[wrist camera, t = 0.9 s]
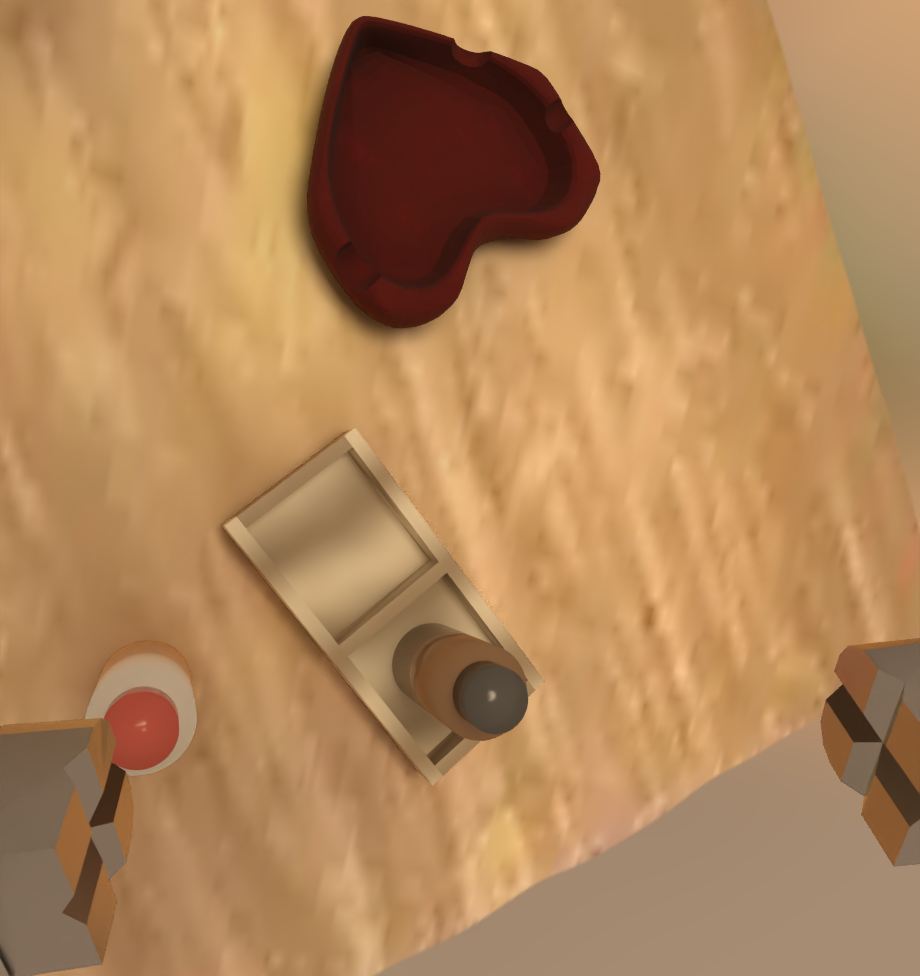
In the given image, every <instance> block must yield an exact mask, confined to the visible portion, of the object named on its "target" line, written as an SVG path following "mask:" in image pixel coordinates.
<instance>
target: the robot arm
mask: <svg viewBox="0 0 920 976" xmlns="http://www.w3.org/2000/svg"><path fill="white" fill-rule="evenodd" d="M834 672H835V673H836V675H837V676H838V678H839V679H840V681H841V682H842V685H841V686H840V687H839V688H838V689H837V690H836V691H835V692H834V693H833V694H832V695H830V696H829V697H828V698H827V699H826V701H825V705H824V709H823V713H822V717H821V730H822V738H823V746H824V748H825V751H826V754H827V756H828V759H829V762H830V764H831V766H832V767H833V769H834V771H835V772H836V774H837V776H838V777H839V779H840V780H841V782H843V783H844V784H846V785H847V786H849V787H850V788H852V789H854V790H855V791H857V792H858V793H860V794H861V795H863V796H864V800H863V806H862V813H861V815H862V816H863V818H864V820H865V821H866V823H867V825H868V826H869V828H870V829H871V831H872V833H873V834H874V836H875V837H876V839H877V840H878V842H879V844H880V845H881V847H882V848H883V850H884V852H885V853H886V855H887V856H888V858H889V860H890V861H891V863H892V864H893V866H905V865H916V864H920V638H916V639H906V640H897V641H887V642H878V643H869V644H859V645H850V646H847V648H846V649H845V650H844V651H843V652H842V653H841V654H840V655H839V658H838V661H837V664H836V668H835V671H834ZM116 743H117V742H116V739H115V736H114V734H113V731H112V728H111V725H110V723H109V720H106V719H102V718H94V719H80V720H66V721H52V722H38V723H24V724H10V725H3V726H0V976H29V975H36V974H42V973H49V972H56V971H62V970H69V969H75V968H82V967H89V966H95V965H102V963H103V959H104V955H105V951H106V946H107V942H108V938H109V934H110V929H111V925H112V921H113V917H114V913H115V908H116V904H117V899H116V897H115V894H114V891H113V888H112V885H111V882H110V878H111V877H112V876H113V875H114V874H115V873H116V872H117V871H118V870H119V869H120V868H121V867H122V866H123V865H124V864H125V863H126V861H127V856H128V851H129V847H130V842H131V837H132V821H133V802H132V794H131V787H130V784H129V780H128V777H127V773H126V771H125V770H123V769H122V768H120V767H119V766H117V765H116V764H114V763H113V762H112V758H113V754H114V751H115V747H116Z"/></svg>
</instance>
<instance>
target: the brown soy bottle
mask: <svg viewBox="0 0 920 976" xmlns="http://www.w3.org/2000/svg"><path fill="white" fill-rule="evenodd" d="M392 671H393V676H394V679H395V682H396V684H397V686H398V687H399V689H400V690H401V691H402V692H403V693H404V694H405V695H406V696H407V697H409V698H410V699H411V700H413V701H414V702H415V703H417V704H418V705H419V706H420V707H422V708H423V709H424V710H426V711H427V712H428V713H430V714H431V715H432V716H434V717H435V718H436V719H438V720H439V721H440V722H441V723H443V724H444V725H445V726H447V727H448V728H449V729H451V730H452V731H453V732H455V733H456V734H458V735H459V736H461V737H463V738H466V739H469V740H475V741H484V740H490V739H493V738H496V737H498V736H500V735H502V734H503V733H505V732H508V731H510V730H511V729H513V728H514V727H515V726H517V724H518V723H519V722H520V721H521V720H522V718H523V716H524V714H525V712H526V709H527V705H528V692H527V683H526V678H525V674H524V671H523V669H522V667H521V665H520V664H519V662H518V661H517V659H516V658H515V657H514V656H513V655H512V654H511V653H509V652H508V651H506V650H505V649H503V648H500V647H498V646H496V645H493V644H491V643H488V642H486V641H483V640H481V639H478V638H476V637H473V636H471V635H468V634H466V633H463V632H461V631H458V630H456V629H453V628H451V627H448V626H446V625H443V624H439V623H426V624H422V625H419V626H416V627H415V628H413V629H411V630H410V631H408V632H407V633H406V634H405V635H404V636H403V637H402V639H401V640H400V641H399V643H398V644H397V647H396V649H395V651H394V655H393V660H392Z"/></svg>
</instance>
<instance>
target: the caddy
mask: <svg viewBox="0 0 920 976" xmlns="http://www.w3.org/2000/svg"><path fill="white" fill-rule="evenodd" d="M221 526H222V527H223V528H224V529H225V531H226V532H227V533H228V534H229V536H230V537H231V538H232V539H233V541H234V542H235V543H236V544H237V546H238V547H239V548H240V549H241V551H242V552H243V553H244V554H245V556H246V557H247V558H248V559H249V561H250V562H251V563H252V564H253V566H254V567H255V568H256V569H257V571H258V572H259V573H260V574H261V576H262V577H263V578H264V579H265V581H266V582H267V583H268V584H269V586H270V587H271V588H272V589H273V591H274V592H275V593H276V594H277V596H278V597H279V598H280V599H281V601H282V602H283V603H284V604H285V606H286V607H287V608H288V609H289V611H290V612H291V613H292V614H293V616H294V617H295V618H296V619H297V621H298V622H299V623H300V624H301V626H302V627H303V628H304V629H305V631H306V632H307V633H308V634H309V636H310V637H311V638H312V639H313V641H314V642H315V643H316V644H317V646H318V647H319V648H320V649H321V651H322V652H323V653H324V654H325V656H326V657H327V658H328V659H329V661H330V662H331V663H332V664H333V665H334V667H335V668H336V669H337V670H338V672H339V673H340V674H341V675H342V677H343V678H344V679H345V680H346V682H347V683H348V684H349V685H350V687H351V688H352V689H353V690H354V692H355V693H356V694H357V695H358V697H359V698H360V699H361V700H362V702H363V703H364V704H365V705H366V707H367V708H368V709H369V710H370V712H371V713H372V714H373V715H374V717H375V718H376V719H377V720H378V722H379V723H380V724H381V725H382V727H383V728H384V729H385V730H386V732H387V733H388V734H389V735H390V737H391V738H392V739H393V740H394V742H395V743H396V744H397V745H398V747H399V748H400V749H401V750H402V752H403V753H404V754H405V755H406V757H407V758H408V759H409V760H410V762H411V763H412V764H413V765H414V767H415V768H416V769H417V770H418V772H419V773H420V774H421V775H422V776H423V777H424V778H425V779H426V780H427V781H428V782H429V783H430V784H431V785H432V786H433V785H434V784H435V783H436V782H437V781H438V780H439V779H440V778H441V777H442V776H443V775H445V774H446V773H447V772H448V771H449V770H450V769H451V768H452V767H453V766H454V765H455V764H456V763H457V762H459V761H460V760H461V759H462V758H463V757H464V756H465V755H466V754H467V753H468V752H469V751H470V750H471V749H473V748H474V747H475V746H476V745H477V744H478V743H479V742H480V741H475V740H469V739H466V738H463V737H461V736H459V735H458V734H456V733H455V732H453V731H452V730H451V729H449V728H448V727H447V726H445V725H444V724H443V723H441V722H440V721H439V720H438V719H436V718H435V717H434V716H432V715H431V714H430V713H428V712H427V711H426V710H424V709H423V708H422V707H420V706H419V705H418V704H417V703H415V702H414V701H413V700H411V699H410V698H409V697H407V696H406V695H405V694H404V693H403V692H402V691H401V690H400V689H399V687H398V686H397V684H396V682H395V679H394V676H393V671H392V660H393V655H394V651H395V649H396V647H397V644H398V643H399V641H400V640H401V639H402V637H403V636H404V635H405V634H406V633H407V632H408V631H410V630H411V629H413V628H415V627H416V626H419V625H422V624H426V623H439V624H443V625H446V626H448V627H451V628H453V629H456V630H458V631H461V632H463V633H466V634H468V635H471V636H473V637H476V638H478V639H481V640H483V641H486V642H488V643H491V644H493V645H496V646H498V647H500V648H503V649H505V650H506V651H508V652H509V653H511V654H512V655H513V656H514V657H515V658H516V659H517V661H518V662H519V664H520V665H521V667H522V669H523V671H524V674H525V678H526V683H527V692H528V697H529V696H530V695H531V694H532V693H533V692H534V691H535V690H536V689H537V688H538V687H539V686H540V685H541V684H543V683H544V682H545V681H544V679H543V678H542V677H541V675H540V674H539V673H538V671H537V670H536V669H535V667H534V666H533V665H532V663H531V662H530V661H529V659H528V658H527V657H526V655H525V654H524V653H523V651H522V650H521V649H520V647H519V646H518V645H517V643H516V642H515V641H514V639H513V638H512V636H511V635H510V634H509V632H508V631H507V630H506V628H505V627H504V626H503V624H502V623H501V622H500V620H499V619H498V618H497V616H496V615H495V614H494V612H493V611H492V610H491V608H490V607H489V606H488V604H487V603H486V602H485V600H484V599H483V598H482V596H481V595H480V594H479V592H478V591H477V590H476V588H475V587H474V586H473V584H472V583H471V582H470V580H469V579H468V578H467V576H466V575H465V574H464V572H463V571H462V570H461V568H460V567H459V566H458V564H457V563H456V562H455V560H454V559H453V558H452V556H451V555H450V553H449V552H448V551H447V549H446V548H445V547H444V545H443V544H442V543H441V541H440V540H439V539H438V537H437V536H436V535H435V533H434V532H433V531H432V529H431V528H430V527H429V525H428V524H427V523H426V521H425V520H424V519H423V517H422V516H421V515H420V513H419V512H418V511H417V509H416V508H415V507H414V505H413V504H412V503H411V501H410V500H409V499H408V497H407V496H406V495H405V493H404V492H403V491H402V489H401V488H400V487H399V485H398V484H397V483H396V481H395V480H394V479H393V477H392V476H391V475H390V473H389V472H388V470H387V469H386V468H385V466H384V465H383V464H382V462H381V461H380V460H379V458H378V457H377V456H376V454H375V453H374V452H373V450H372V449H371V448H370V446H369V445H368V444H367V442H366V441H365V440H364V438H363V437H362V436H361V434H360V433H359V432H358V430H357V429H356V428H353V429H351V430H349V431H346V432H345V433H343V434H342V435H341V436H339V437H338V438H337V439H335V440H334V441H333V442H331V443H330V444H329V445H327V446H326V447H325V448H323V449H322V450H321V451H319V452H318V453H317V454H315V455H314V456H313V457H311V458H310V459H309V460H307V461H306V462H305V463H303V464H302V465H301V466H299V467H298V468H297V469H295V470H294V471H293V472H291V473H290V474H289V475H287V476H286V477H285V478H283V479H282V480H281V481H279V482H278V483H277V484H275V485H274V486H273V487H271V488H270V489H269V490H267V491H266V492H265V493H263V494H262V495H261V496H259V497H258V498H257V499H255V500H254V501H253V502H251V503H250V504H249V505H247V506H246V507H245V508H243V509H242V510H241V511H239V512H238V513H237V514H235V515H234V516H233V517H231V518H230V519H229V520H227V521H226V522H225V523H223V524H222V525H221Z"/></svg>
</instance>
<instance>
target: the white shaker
mask: <svg viewBox="0 0 920 976" xmlns="http://www.w3.org/2000/svg"><path fill="white" fill-rule="evenodd" d="M94 718H102V719H106V720H109V723H110V725H111V728H112V731H113V734H114V736H115V739H116V742H117V743H116V747H115V751H114V754H113V758H112V762H113V763H114V764H116V765H117V766H119V767H120V768H122V769H123V770H125V771H126V773H127V775H131V776H141V775H147V774H151V773H155V772H158V771H160V770H162V769H164V768H166V767H168V766H169V765H171V764H172V763H174V762H175V761H176V760H177V759H178V758H179V757H180V756H181V755H182V754H183V753H184V752H185V751H186V749H187V748H188V746H189V744H190V742H191V740H192V738H193V736H194V733H195V729H196V723H197V712H196V705H195V698H194V692H193V686H192V679H191V673H190V669H189V667H188V664H187V662H186V661H185V659H184V658H183V656H182V655H181V654H180V653H179V652H178V651H177V650H175V649H174V648H172V647H171V646H169V645H166V644H164V643H161V642H156V641H141V642H136V643H133V644H130V645H128V646H126V647H124V648H122V649H120V650H119V651H118V652H116V653H115V654H114V655H113V656H112V657H111V658H110V659H109V661H108V662H107V663H106V665H105V667H104V669H103V671H102V673H101V676H100V678H99V680H98V683H97V685H96V688H95V690H94V693H93V695H92V698H91V700H90V703H89V705H88V708H87V711H86V714H85V719H94Z"/></svg>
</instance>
